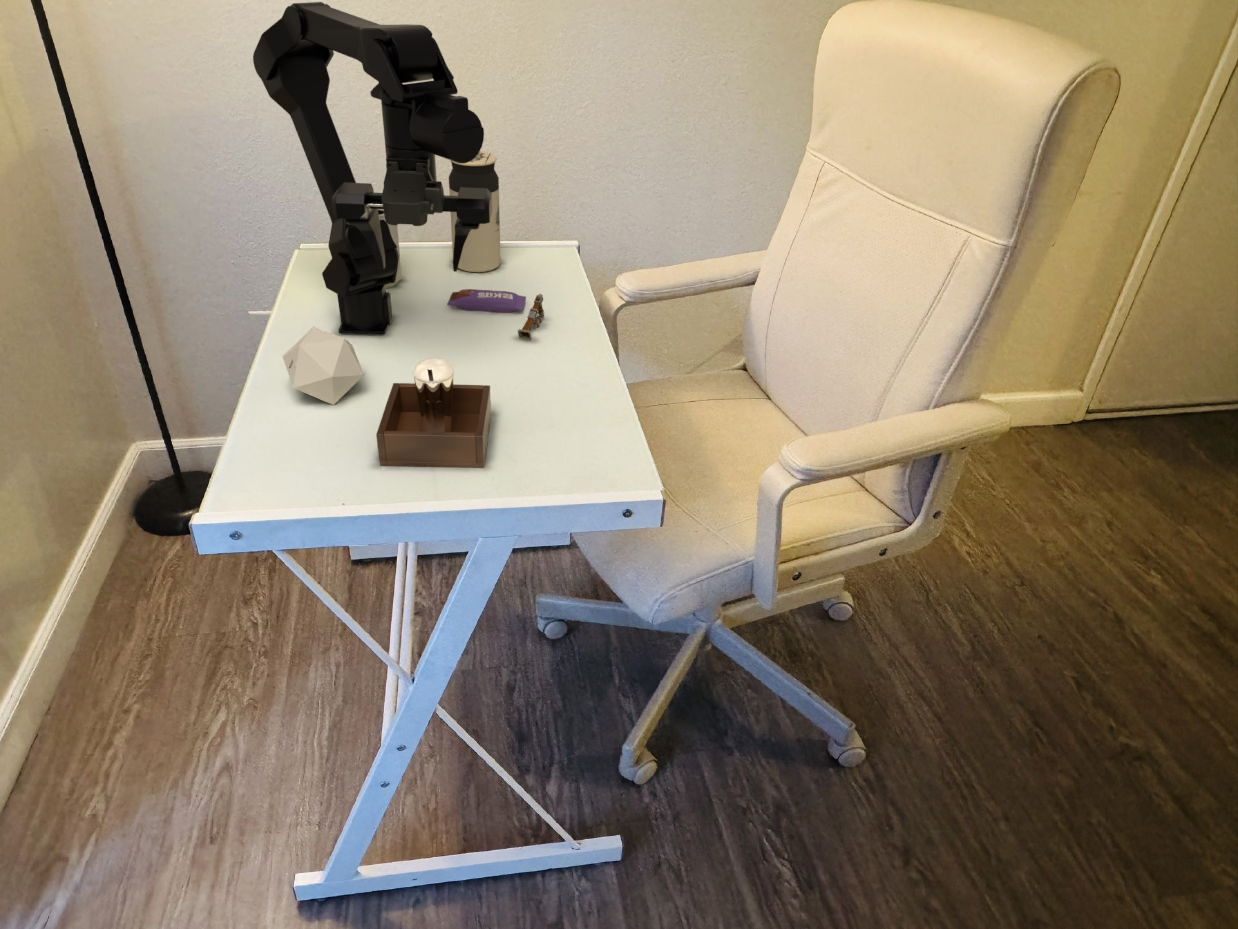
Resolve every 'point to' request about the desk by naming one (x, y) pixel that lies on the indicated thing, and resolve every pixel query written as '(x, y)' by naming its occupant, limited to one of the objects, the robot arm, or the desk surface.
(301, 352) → the die
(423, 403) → the milkshake
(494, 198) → the travel mug
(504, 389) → the desk surface
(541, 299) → the wooden post with brackets
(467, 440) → the open box
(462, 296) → the snack package
